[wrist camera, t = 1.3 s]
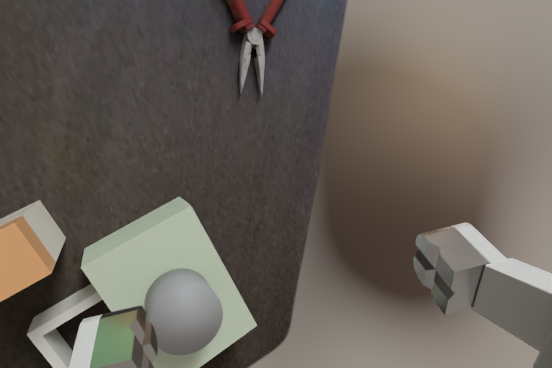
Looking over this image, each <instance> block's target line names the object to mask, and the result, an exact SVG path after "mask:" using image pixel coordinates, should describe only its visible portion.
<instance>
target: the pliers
mask: <svg viewBox="0 0 552 368" xmlns="http://www.w3.org/2000/svg"><path fill="white" fill-rule="evenodd" d="M226 1H227V3H228V5H229V7H230V9H231V12H232V14H233V16H234V18H235V20H236V24H234V25H233V26H231V27H230V28H229V30H230V32H231V34H232V33H234V32H236V31H239V30H240V33H241V34H243V33H245V34H244V37H243V42H242V47H241V52H240V59H239V63H240V93H242V89H243V86H244V82H245V78H246V74H247V70H248V67H249V62H250V58H251V55H250V54H251V49H252V48H254V49H255V50H256V51H257V57H255V58H253V59H254V65H255V71H256V76H257V81H258V85H259V90H260V95H262V92H263V79H264V67H265V52H264V44H263V37H262V36H263V35H264V36H265V37H267V38H268V39H271V38H273V37H274V36H275V34H276V32H277V31H276V29H275V28H274V27H273V26H271V25H270V24H271V22H272V20H273V19H274V17H275V15H276V13H277V12H278V10H279V8H280V6H281V5H282V3H283V1H284V0H270V2H269V3H268V5H267V7H266V9H265V10H264V12H263V14H262V15H261V17H260V19H259V21H258V22H257V24H256V26H254V24H253V20H252V18H251V17H250V15H249V12H248V10H247V8H246V5H245V3H244V1H243V0H226ZM253 27H255V28H253Z"/></svg>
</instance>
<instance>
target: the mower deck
mask: <svg viewBox="0 0 552 368" xmlns="http://www.w3.org/2000/svg"><path fill="white" fill-rule="evenodd" d="M81 269H82V270H83V272H84V273H85V275H86V276H87V278H88V279H89V280H90V282H91V284H90V285H88V286H86V287H85V288H83V289H81V290H79V291H78V292H76V293H74V294H73V295H71V296H69V297H67V298H66V299H64V300H62V301H61V302H59V303H57V304H55V305H54V306H52V307H50V308H49V309H47V310H45V311H44V312H42V313H40V314H38V315H37V316H35V317H34V318H33V320H32V322H31V325H30V327H29V330H28V332H27V336H28V337H29V338H30V340H31V341H32V342H33V343H34V345H35V346H36V347H37V348H38V350H39V351H40V352H41V353H42V355H43V356H44V357H45V358H46V360H47V361H48V362H49V363H50V365H51V366H52V367H53V368H68V366H69V363H70V359H71V355H72V349H71V348H70V347H69V345H68V344H67V343H66V342H65V340H64V339H63V338H62V336H61V335H60V334H59V332H58V331H57V330H56V327H58V326H60V325H61V324H63V323H65V322H66V321H68V320H70V319H71V318H73V317H75V316H76V315H78V314H80V313H81V312H83V311H85V310H86V309H88V308H90V307H91V306H93V305H94V304H96V303H98V302H99V301H101V300H103V301H104V302H105V304H106V305H107V306H108V308H109V309H110V311H111V312H114V311H118V310H123V309H127V308H131V307H136V306H143V308H144V310H145V311H146V321H148V322H151V323H152V325H153V327H154V329H155V333H156V336H157V345H158V352H157V358H156V359H155V361H154V362H153V364H152V365H153V367H154V368H200V367H201V366H202V365H204V364H205V363H206V362H208V361H209V360H211V359H212V358H213V357H215V356H216V355H217V354H219V353H220V352H222V351H223V350H224V349H226V348H227V347H228V346H230V345H231V344H233V343H234V342H235V341H237V340H238V339H239V338H241V337H242V336H244V335H245V334H246V333H248V332H249V331H250V330H252V329H253V328H255V327H256V326H257V324H256V323H255V321H254V319H253V317H252V315H251V313H250V312H249V310H248V308H247V306H246V304H245V303H244V301H243V299H242V297H241V295H240V294H239V292H238V290H237V288H236V286H235V284H234V283H233V281H232V279H231V277H230V275H229V274H228V272H227V270H226V268H225V266H224V265H223V263H222V261H221V259H220V257H219V255H218V254H217V252H216V250H215V248H214V246H213V245H212V243H211V241H210V239H209V237H208V236H207V234H206V232H205V230H204V228H203V226H202V225H201V223H200V221H199V219H198V217H197V216H196V214H195V212H194V210H193V208H192V207H191V205H190V204H188V203H187V202H186V201H185V200H183V199H182V198H181V197H177V198H176V199H174V200H172V201H170V202H168V203H166V204H165V205H163V206H161V207H159V208H157V209H156V210H154V211H152V212H150V213H148V214H146V215H145V216H143V217H141V218H139V219H137V220H136V221H134V222H132V223H130V224H128V225H126V226H125V227H123V228H121V229H119V230H117V231H116V232H114V233H112V234H110V235H108V236H106V237H105V238H103V239H101V240H99V241H97V242H96V243H94V244H92V245H90V246H88V247H86V248H85V249H84V254H83V259H82V264H81Z"/></svg>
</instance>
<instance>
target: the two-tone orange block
mask: <svg viewBox="0 0 552 368" xmlns="http://www.w3.org/2000/svg"><path fill="white" fill-rule="evenodd" d="M65 239H66V237H65V236H64V235H63V233H62V232H61V230H60V229H59V227H58V226H57V224H56V223H55V221H54V220H53V219H52V217H51V216H50V214H49V213H48V211H47V210H46V208H45V207H44V206H43V204H42V203H41V201H40V200H38V201H36V202H34V203H32V204H30V205H28V206H26V207H24V208H22V209H20V210H18V211H16V212H14V213H12V214H10V215H8V216H6V217H4V218H2V219H0V302H1V301H3V300H5V299H7V298H8V297H10V296H12V295H14V294H16V293H17V292H19V291H21V290H23V289H25V288H26V287H28V286H30V285H32V284H34V283H35V282H37V281H39V280H41V279H43V278H44V277H46V276H48V275H50V274H51V273H52V271H53V268H54V266H55V264H56V261H57V259H58V256H59V254H60V252H61V249H62V247H63V244H64V242H65Z"/></svg>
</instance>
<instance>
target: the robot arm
mask: <svg viewBox="0 0 552 368" xmlns="http://www.w3.org/2000/svg"><path fill="white" fill-rule="evenodd" d="M416 245H417V247H418V248H419V250H418V251H417V252H416V253H415V254H414V267H415V272H416V274H417V276H418V278H419V279H420V281H421V282H422V284H423V285H424V286H426V287H429V288H430V289H432V298H433V299H434V301H435V302H436V303H437V305H438V306H439V308H440V309H441V310H442V312H443V313H444V314H445V315H447V314H451V313H455V312H459V311H463V310H467V309H471V308H473V311H475V312H477V313H478V314H480V315H482V316H483V317H485V318H487V319H488V320H490V321H491V322H493V323H494V324H496V325H498V326H499V327H501V328H503V329H504V330H506V331H507V332H509V333H511V334H512V335H514V336H515V337H517V338H519V339H521V340H522V341H524V342H525V343H527V344H528V345H530V346H532V347H533V348H535V349H537V350H538V351H540V353H539V355H538V357H537V359H536V361H535V363H534V365H533V368H552V274H551V273H549V272H546V271H544V270H541V269H539V268H536V267H534V266H531V265H528V264H526V263H523V262H520V261H518V260H516V259H513V258H510V259H506V258H505V257H504V256H503V255H502V254H501V253H500V252H499V251H498V250H497V249H496V248H495V247H494V246H493V245H492V244H491V243H490V242H489V241H488V240H487V239H486V238H484V237H483V236H482V235H481V234H480V233H479V232H478V231H477V230H476V229H475V228H474V227H473V226H472V225H471V224H469V223H462V224H458V225H454V226H450V227H445V228H442V229H438V230H434V231H430V232H427V233H423V234H419V235H418V237H417V238H416ZM157 352H158V345H157V336H156V333H155V329H154V327H153V325H152V323H151V322H148V321H146V311H145V310H144V308H143V306H136V307H131V308H127V309H123V310H118V311H114V312H109V313H105V314H101V315H97V316H93V317H89V318H84V319H83V320H82V322H81V323H80V325H79V329H78V333H77V336H76V340H75V344H74V348H73V351H72V355H71V359H70V363H69V366H68V368H154V367H153V365H152V364H153V362H154V361H155V359H156V358H157Z"/></svg>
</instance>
